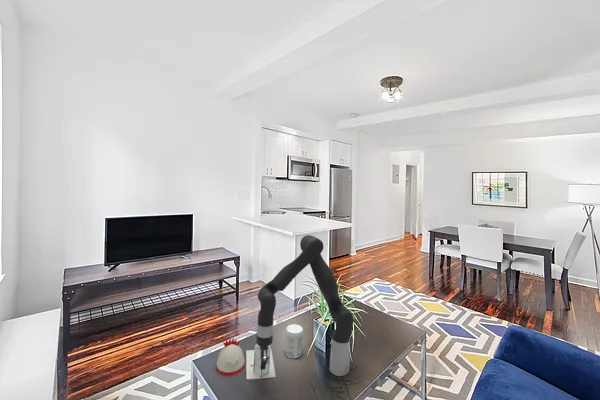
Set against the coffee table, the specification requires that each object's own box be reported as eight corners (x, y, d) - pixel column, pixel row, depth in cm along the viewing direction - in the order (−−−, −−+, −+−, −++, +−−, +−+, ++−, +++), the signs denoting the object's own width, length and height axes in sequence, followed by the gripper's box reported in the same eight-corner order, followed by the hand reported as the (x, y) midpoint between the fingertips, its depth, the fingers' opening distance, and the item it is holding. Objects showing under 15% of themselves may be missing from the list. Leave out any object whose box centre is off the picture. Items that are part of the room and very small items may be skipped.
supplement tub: (298, 347, 157) (300, 323, 156) (304, 357, 148) (306, 331, 147) (282, 349, 154) (284, 325, 153) (287, 360, 145) (289, 334, 144)
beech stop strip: (269, 363, 141) (269, 361, 141) (269, 365, 140) (270, 362, 140) (250, 364, 139) (250, 362, 139) (250, 366, 138) (250, 364, 138)
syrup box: (261, 366, 139) (262, 339, 138) (269, 372, 135) (271, 344, 134) (253, 372, 134) (254, 344, 133) (261, 378, 130) (262, 349, 129)
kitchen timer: (215, 359, 142) (216, 332, 141) (241, 355, 147) (243, 328, 146) (217, 378, 129) (218, 348, 128) (246, 372, 134) (247, 343, 133)
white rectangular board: (271, 349, 154) (271, 348, 154) (275, 377, 132) (275, 376, 132) (246, 351, 151) (246, 350, 151) (246, 379, 129) (246, 379, 129)
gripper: (274, 340, 118) (272, 378, 119) (271, 324, 131) (269, 358, 132) (257, 341, 117) (255, 379, 118) (255, 325, 129) (254, 359, 131)
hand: (262, 368), depth 125 cm, fingers closed
